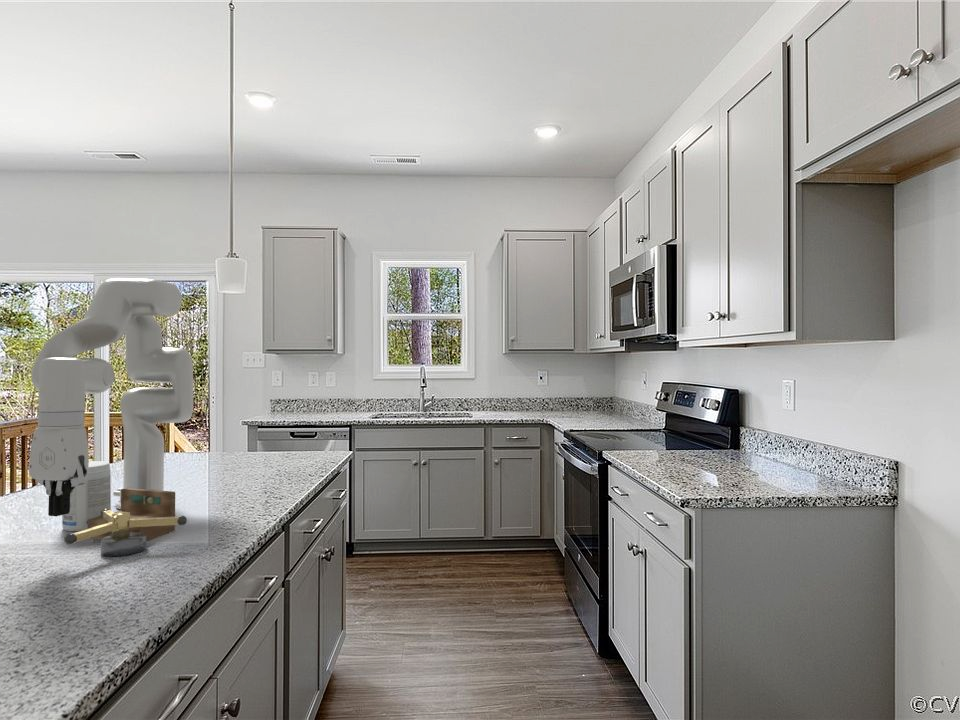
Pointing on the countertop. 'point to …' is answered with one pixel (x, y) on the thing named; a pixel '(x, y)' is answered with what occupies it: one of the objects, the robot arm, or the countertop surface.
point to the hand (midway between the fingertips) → (59, 514)
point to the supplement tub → (89, 497)
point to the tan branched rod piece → (122, 532)
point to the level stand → (143, 511)
